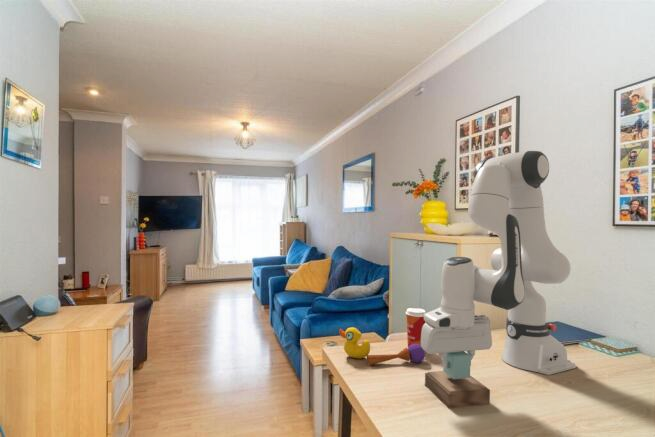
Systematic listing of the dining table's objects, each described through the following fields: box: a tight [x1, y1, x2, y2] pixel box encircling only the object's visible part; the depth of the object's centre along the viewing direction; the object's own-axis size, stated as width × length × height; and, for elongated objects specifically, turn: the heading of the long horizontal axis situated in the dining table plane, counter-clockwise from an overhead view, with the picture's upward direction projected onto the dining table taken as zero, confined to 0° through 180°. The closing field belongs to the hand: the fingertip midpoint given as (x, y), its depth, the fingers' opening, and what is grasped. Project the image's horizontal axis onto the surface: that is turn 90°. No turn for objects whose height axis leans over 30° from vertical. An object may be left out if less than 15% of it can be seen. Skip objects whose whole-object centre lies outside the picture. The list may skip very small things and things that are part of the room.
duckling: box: [338, 326, 371, 359], centre depth 116 cm, size 11×5×10 cm, turn 63°
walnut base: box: [424, 370, 491, 409], centre depth 92 cm, size 12×12×4 cm
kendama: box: [366, 344, 426, 366], centre depth 112 cm, size 6×6×20 cm
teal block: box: [442, 351, 471, 379], centre depth 92 cm, size 5×5×6 cm
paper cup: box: [405, 307, 427, 348], centre depth 126 cm, size 8×8×14 cm
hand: (456, 366), depth 93 cm, fingers closed on teal block, 5 cm apart
